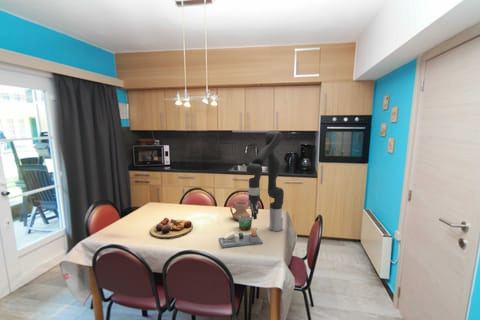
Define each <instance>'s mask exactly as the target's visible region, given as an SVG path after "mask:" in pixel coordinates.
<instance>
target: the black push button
mask: <svg viewBox="0 0 480 320" xmlns="http://www.w3.org/2000/svg"><path fill="white" fill-rule="evenodd" d="M237 234H238V235H239V239H242V238H243V235H244V233H242V232H239V233H237Z"/></svg>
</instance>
